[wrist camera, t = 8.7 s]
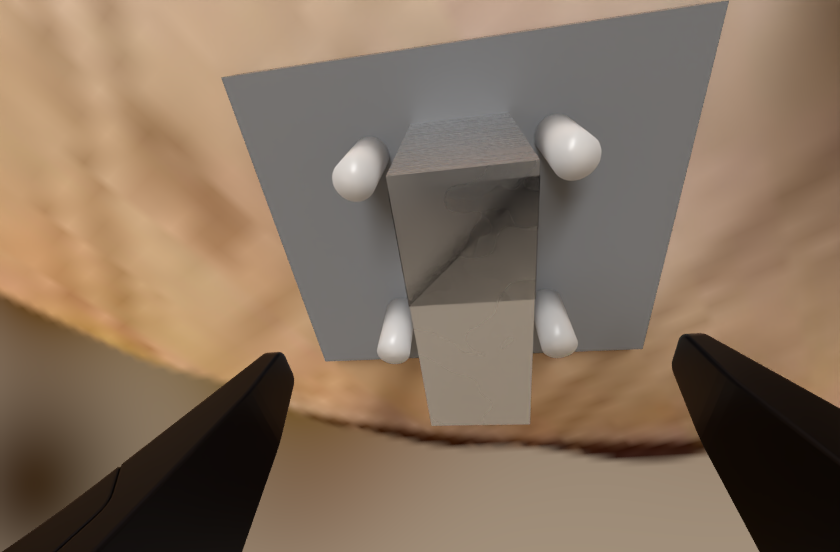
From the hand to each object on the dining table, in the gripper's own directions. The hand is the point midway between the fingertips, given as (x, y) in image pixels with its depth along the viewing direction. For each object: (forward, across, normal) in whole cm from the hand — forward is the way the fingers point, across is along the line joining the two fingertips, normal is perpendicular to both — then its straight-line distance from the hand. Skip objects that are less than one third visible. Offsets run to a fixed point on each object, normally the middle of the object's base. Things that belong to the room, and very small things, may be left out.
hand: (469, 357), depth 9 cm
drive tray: (+7, 0, 0) cm, 7 cm away
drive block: (+6, 0, 0) cm, 6 cm away
